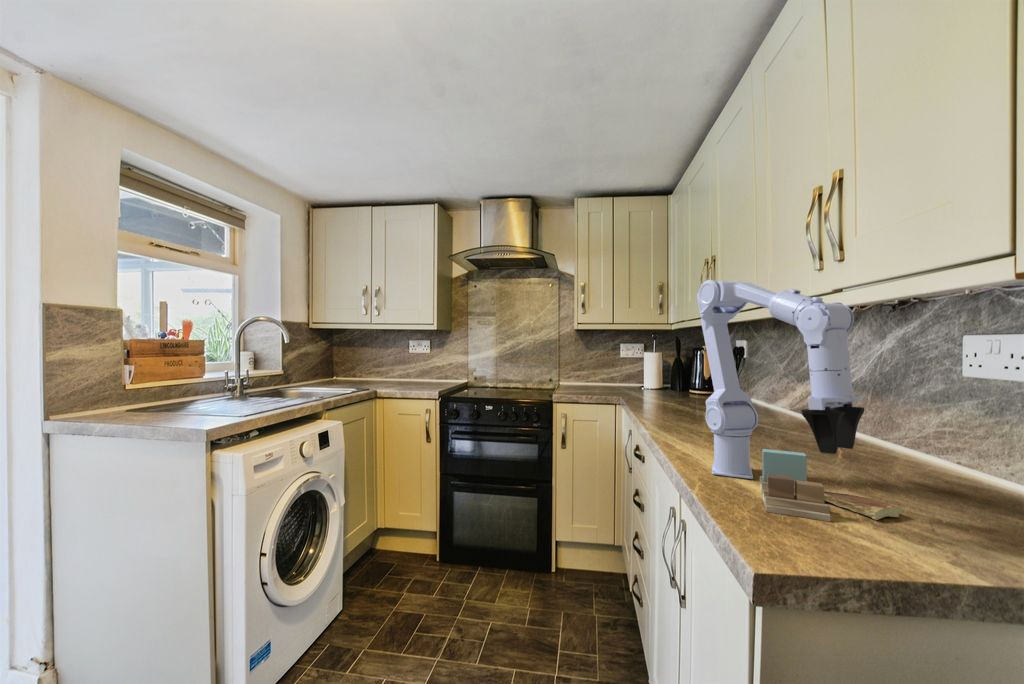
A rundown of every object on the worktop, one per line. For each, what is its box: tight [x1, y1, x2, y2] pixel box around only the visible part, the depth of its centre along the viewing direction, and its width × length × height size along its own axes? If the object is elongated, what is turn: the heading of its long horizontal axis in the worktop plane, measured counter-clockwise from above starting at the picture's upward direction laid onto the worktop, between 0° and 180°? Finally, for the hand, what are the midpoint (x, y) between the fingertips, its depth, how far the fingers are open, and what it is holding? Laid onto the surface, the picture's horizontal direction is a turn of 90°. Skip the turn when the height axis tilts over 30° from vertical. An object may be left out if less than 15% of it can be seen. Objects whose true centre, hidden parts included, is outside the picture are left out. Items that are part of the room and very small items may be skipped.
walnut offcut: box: [767, 474, 794, 500], centre depth 73 cm, size 2×4×4 cm, turn 63°
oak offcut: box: [795, 480, 825, 504], centre depth 71 cm, size 2×4×4 cm, turn 63°
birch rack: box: [759, 475, 831, 523], centre depth 76 cm, size 15×9×2 cm, turn 153°
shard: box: [824, 491, 903, 521], centre depth 74 cm, size 11×8×2 cm
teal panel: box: [761, 448, 808, 486], centre depth 81 cm, size 2×7×7 cm, turn 62°
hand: (837, 450), depth 71 cm, fingers open, 7 cm apart
